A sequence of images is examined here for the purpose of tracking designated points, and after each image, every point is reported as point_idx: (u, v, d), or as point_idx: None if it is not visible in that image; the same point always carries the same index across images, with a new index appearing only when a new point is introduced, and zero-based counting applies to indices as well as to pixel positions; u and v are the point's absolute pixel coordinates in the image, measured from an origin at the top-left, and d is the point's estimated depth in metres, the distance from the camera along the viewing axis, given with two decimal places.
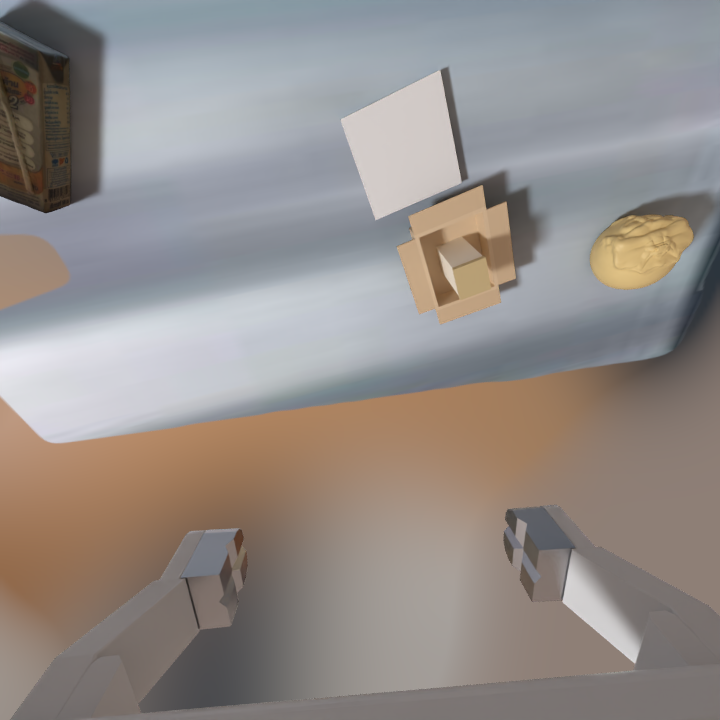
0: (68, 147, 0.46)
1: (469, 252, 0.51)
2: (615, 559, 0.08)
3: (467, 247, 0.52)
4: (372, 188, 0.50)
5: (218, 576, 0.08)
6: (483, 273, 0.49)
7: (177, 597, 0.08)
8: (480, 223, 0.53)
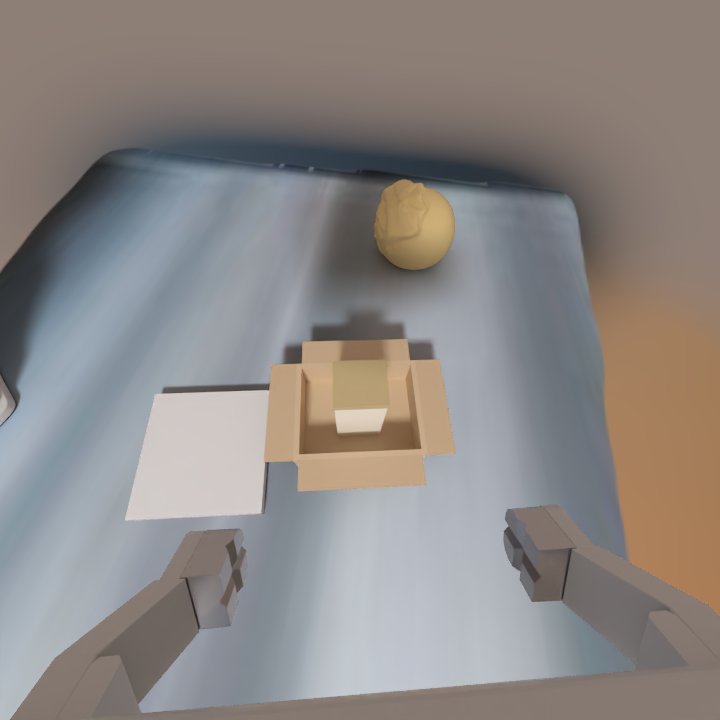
0: None
1: None
2: (615, 559, 0.08)
3: None
4: (219, 504, 0.36)
5: (218, 576, 0.08)
6: (356, 367, 0.32)
7: (177, 597, 0.08)
8: (322, 374, 0.41)
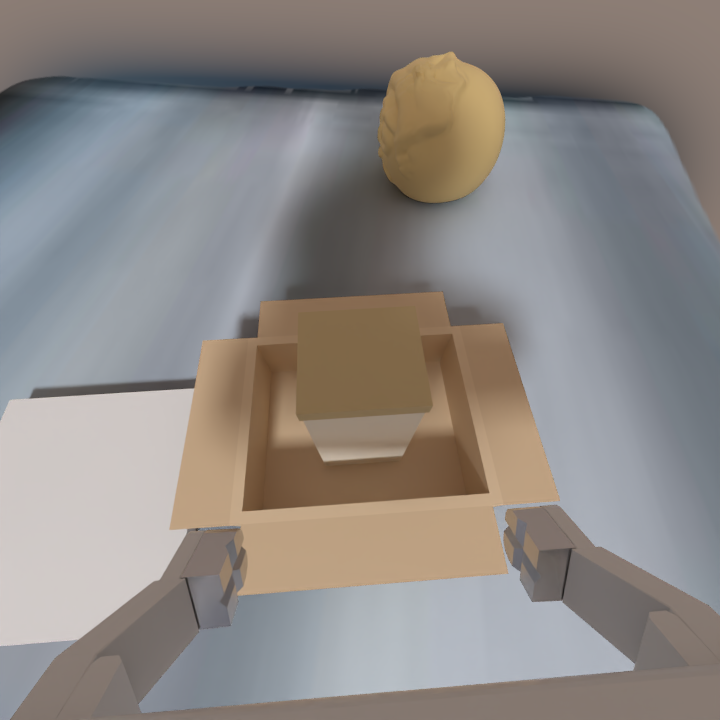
0: None
1: None
2: (615, 559, 0.08)
3: None
4: (91, 612, 0.18)
5: (218, 576, 0.08)
6: (351, 322, 0.14)
7: (177, 597, 0.08)
8: None
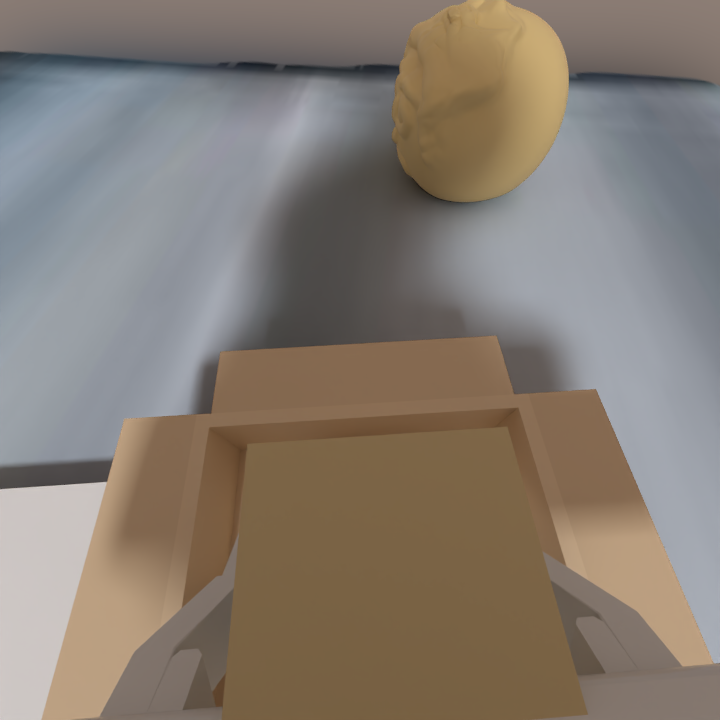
0: None
1: None
2: (554, 564, 0.08)
3: None
4: None
5: None
6: (366, 473, 0.06)
7: None
8: (276, 436, 0.16)
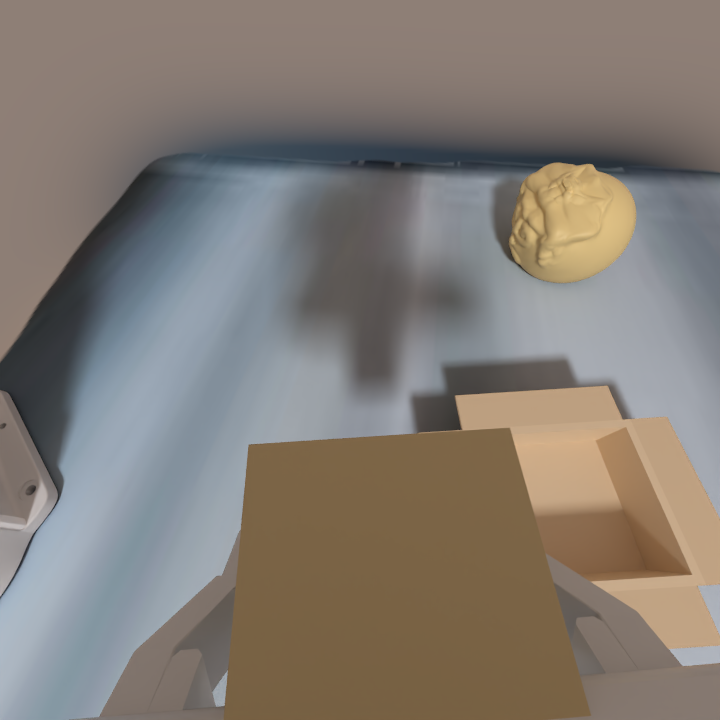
0: None
1: None
2: (554, 564, 0.08)
3: None
4: None
5: None
6: (368, 474, 0.06)
7: None
8: None
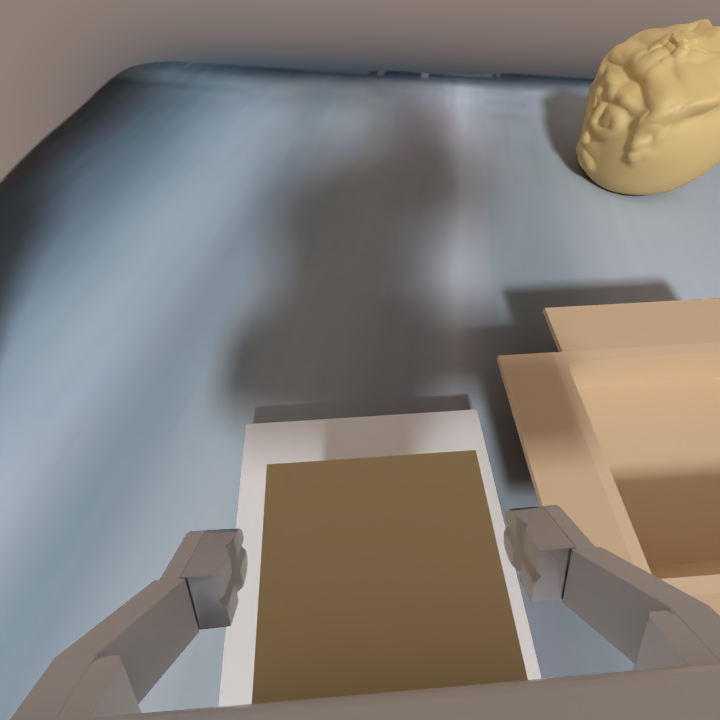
0: None
1: None
2: (615, 559, 0.08)
3: None
4: None
5: (218, 576, 0.08)
6: (362, 488, 0.08)
7: (177, 597, 0.08)
8: (586, 374, 0.20)
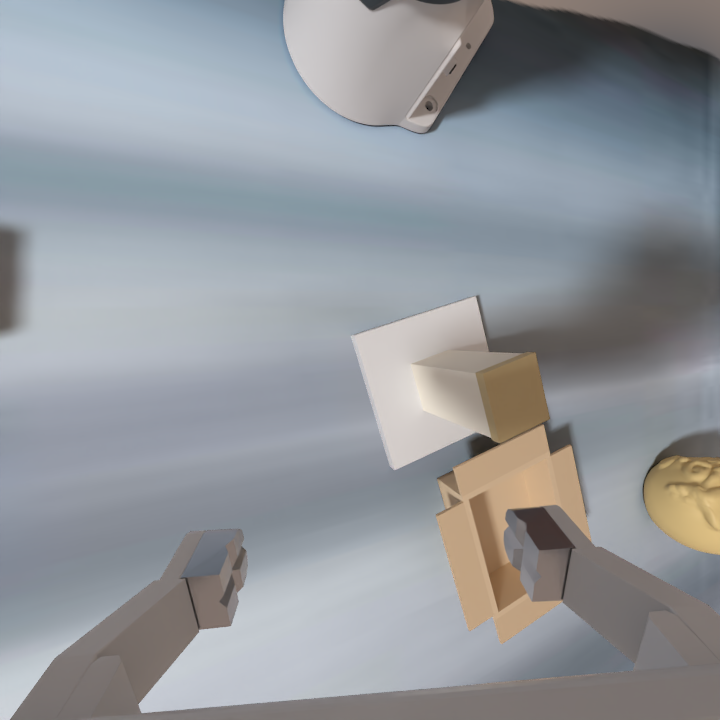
0: None
1: (487, 356, 0.27)
2: (615, 559, 0.08)
3: (475, 353, 0.29)
4: (392, 425, 0.33)
5: (218, 576, 0.08)
6: (534, 385, 0.24)
7: (177, 597, 0.08)
8: (535, 471, 0.37)
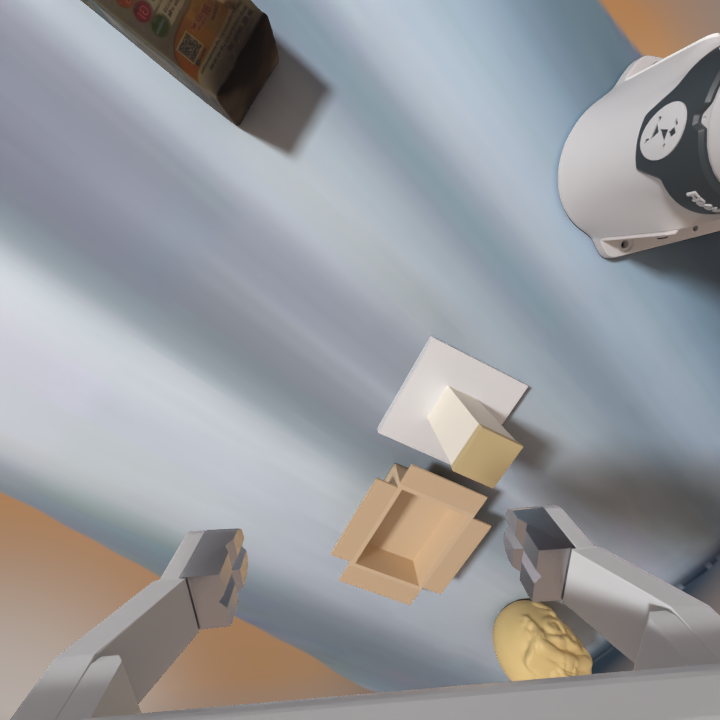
0: None
1: (495, 424, 0.35)
2: (615, 559, 0.08)
3: (490, 416, 0.37)
4: (402, 407, 0.42)
5: (218, 576, 0.08)
6: (503, 463, 0.32)
7: (177, 597, 0.08)
8: (454, 519, 0.46)
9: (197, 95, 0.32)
